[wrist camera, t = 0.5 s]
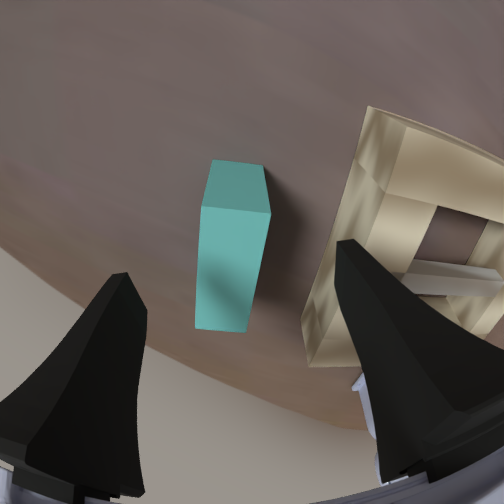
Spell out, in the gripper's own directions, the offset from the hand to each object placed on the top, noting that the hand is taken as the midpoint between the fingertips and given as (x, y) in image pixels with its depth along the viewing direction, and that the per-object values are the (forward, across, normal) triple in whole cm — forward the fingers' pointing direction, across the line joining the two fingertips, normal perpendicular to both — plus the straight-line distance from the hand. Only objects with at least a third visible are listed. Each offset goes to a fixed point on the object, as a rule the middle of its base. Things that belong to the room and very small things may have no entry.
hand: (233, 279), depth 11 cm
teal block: (+10, +1, +4) cm, 10 cm away
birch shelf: (+9, -15, +8) cm, 19 cm away
